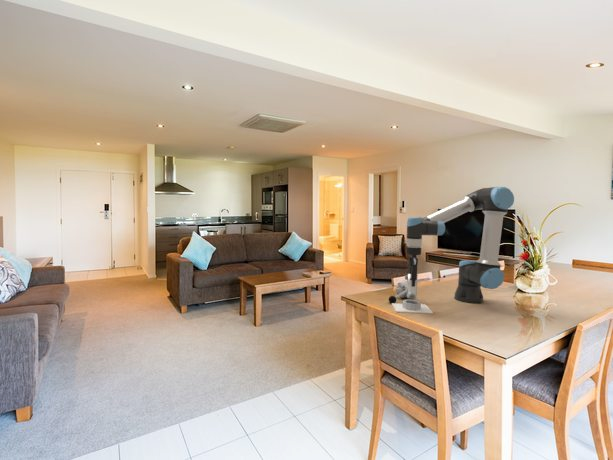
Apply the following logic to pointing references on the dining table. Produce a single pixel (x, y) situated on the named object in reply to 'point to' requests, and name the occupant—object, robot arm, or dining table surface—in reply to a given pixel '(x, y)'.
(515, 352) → the dining table surface
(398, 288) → the valve
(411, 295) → the grey upright cylinder
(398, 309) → the duct panel
